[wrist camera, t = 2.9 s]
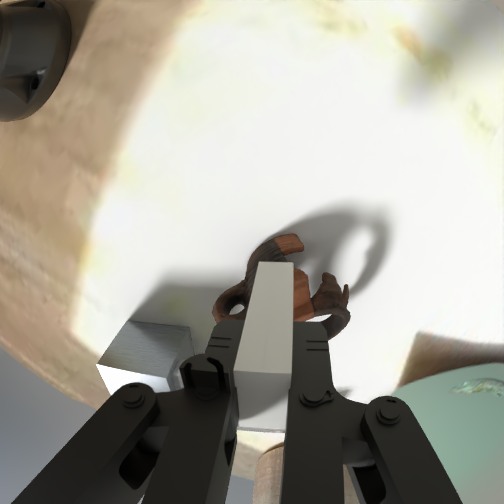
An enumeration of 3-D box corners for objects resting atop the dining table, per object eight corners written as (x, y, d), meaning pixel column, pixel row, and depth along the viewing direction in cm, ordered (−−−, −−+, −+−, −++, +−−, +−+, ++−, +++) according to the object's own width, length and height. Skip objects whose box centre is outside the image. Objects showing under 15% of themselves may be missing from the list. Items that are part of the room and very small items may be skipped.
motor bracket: (127, 320, 34) (87, 377, 25) (335, 333, 31) (345, 406, 22) (152, 395, 40) (129, 448, 31) (320, 409, 37) (322, 471, 28)
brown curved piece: (324, 215, 27) (366, 288, 21) (323, 276, 34) (352, 339, 29) (193, 254, 26) (208, 338, 21) (220, 308, 34) (236, 377, 28)
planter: (295, 484, 49) (291, 547, 35) (236, 455, 45) (222, 531, 31) (373, 459, 43) (380, 531, 29) (323, 426, 39) (325, 520, 25)
